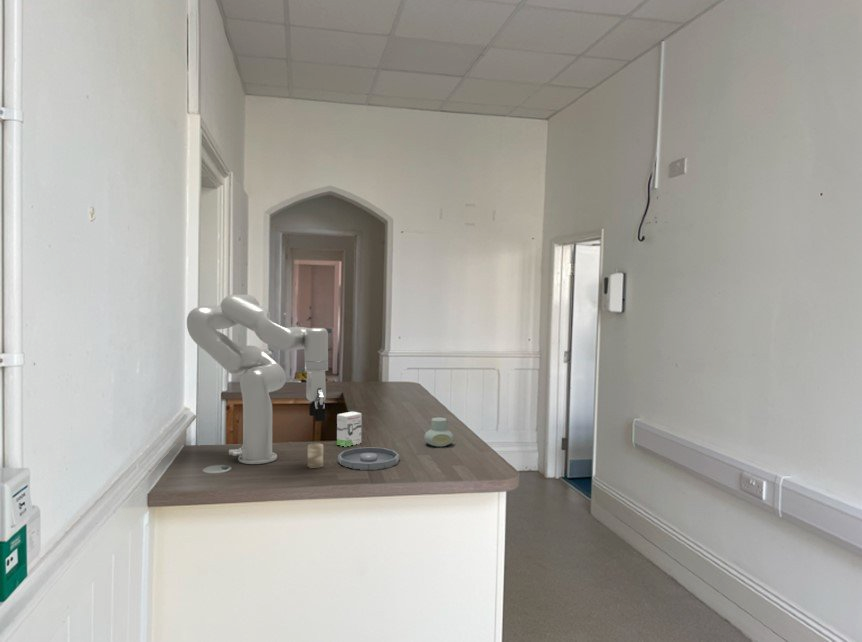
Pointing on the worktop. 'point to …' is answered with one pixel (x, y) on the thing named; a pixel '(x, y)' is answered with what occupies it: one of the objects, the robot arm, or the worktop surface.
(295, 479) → the worktop surface
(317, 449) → the beige cylinder
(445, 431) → the air freshener
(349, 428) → the ink box
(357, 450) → the ring tray
